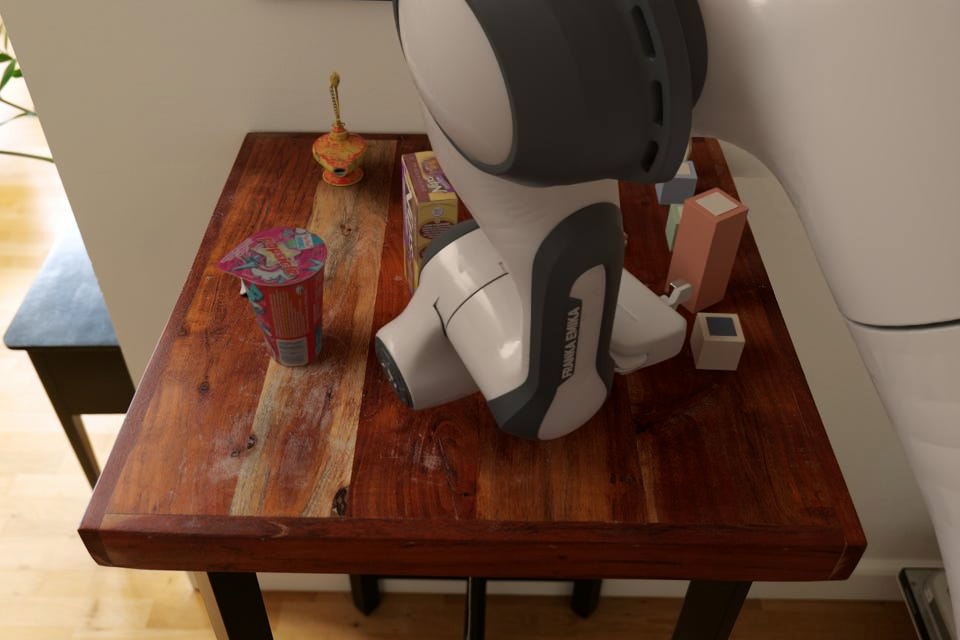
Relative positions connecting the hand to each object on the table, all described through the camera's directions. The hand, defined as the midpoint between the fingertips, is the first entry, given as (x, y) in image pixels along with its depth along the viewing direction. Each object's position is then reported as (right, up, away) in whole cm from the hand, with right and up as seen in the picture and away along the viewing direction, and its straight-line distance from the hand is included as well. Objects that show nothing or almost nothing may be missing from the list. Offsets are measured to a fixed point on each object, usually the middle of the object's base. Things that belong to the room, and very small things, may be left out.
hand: (654, 261), depth 85 cm
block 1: (+7, +10, +23) cm, 26 cm away
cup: (-36, -9, +1) cm, 37 cm away
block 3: (+6, -9, +2) cm, 11 cm away
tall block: (+6, -3, +9) cm, 11 cm away
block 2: (+7, +3, +16) cm, 17 cm away
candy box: (-23, -3, +8) cm, 24 cm away
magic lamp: (-34, +11, +23) cm, 43 cm away
